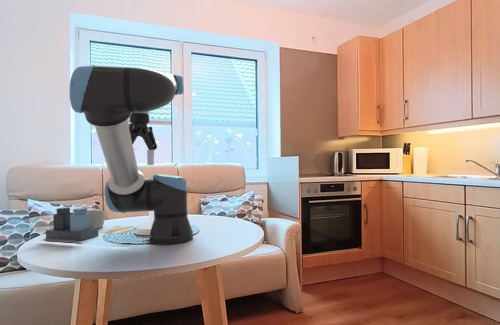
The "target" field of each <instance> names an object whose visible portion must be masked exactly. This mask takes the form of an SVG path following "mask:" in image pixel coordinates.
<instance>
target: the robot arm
mask: <svg viewBox="0 0 500 325" xmlns="http://www.w3.org/2000/svg"><path fill="white" fill-rule="evenodd" d="M69 81H70V82H69V100H70V101H69V102H70V106H71V108H72V110H73V111H74V112H75V113H78V114H82V113H83V114H84V117H85V119H86V121H87V123H88V124H90V125H92V126H94V127H95V131H96V134H97V137H98V138H97V139H98V141H99V143H100V144H99V145H100V147H101V150H102V153H103V157H104V159H105V163H106V167H107V169H108V172H109V176H110V177H109V179H108V181H107V182H106V183H105V185H104V186H105V187H104V198H105V203H106V205H107V207H108V209H109V210H110V211H112V212H113V213H124V214H125V213H135V212H153V221H152V222H153V223H152V225H151V228H150V232H149V235H148V236H149V242H150V243H152V244H153V245H155V244H156V245H175V244H183V243H186V242H189V241H191V240H192V239H193V238H194V236H193V234H194V233H193V232H194V231H193V229H192V226H191V223H190V220H189V218H188V186H187V180H186V178H185V177H184V176H180V175H173V174H160V173H155V174H153V175H152V178H150V177H149V178H146V177H145V175H144V173H143V172H142V171H140V170H139V168H138V164H137V160H136V154H135V149H134V146H133V145H134V143H135V141H136V140H137V138H138V137H141V138H142V139H143V141H144V143H145V145H146V147H147V150H146V153H147V154H146V158H147V164H146V165H147V166H155V162H154V161H155V150H157V148H158V144H157V141H156V139H155V135H154V132H153V127H152V126H148V124H149V123H150V115H149V113H150V112H151V111H156V110H158V109H161V108H163V107H165V106H168V105H169V104H170V103H171V102H172V101H173V100H174V98H175V96H177V95H183V94H184V77H183V75H182V74H176V73H175V74H171V73H170V74H169V73H168V74H167V73H165V72H162V71H158V70H153V69H150V68H149V69H148V68H146V67H145V68H144V67H140V66H139V67H137V66H136V67H135V66H130V67H129V66H101V65H99V66H98V65H97V66H96V65H84V66H83V65H82V66H78V67H76V68H75V69H74V70H73V72H72V73H71V77H70V80H69ZM128 120H129V122H130V123H129V122H128Z"/></svg>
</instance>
